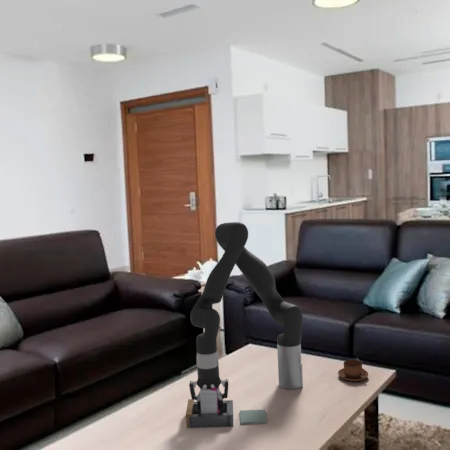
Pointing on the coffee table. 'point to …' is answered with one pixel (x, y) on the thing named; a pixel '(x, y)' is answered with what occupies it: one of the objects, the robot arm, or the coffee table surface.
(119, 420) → the coffee table surface
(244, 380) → the coffee table surface
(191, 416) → the grey wooden frame
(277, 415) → the coffee table surface
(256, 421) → the rubber pad
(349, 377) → the cup and saucer
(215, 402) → the supplement box
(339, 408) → the coffee table surface
